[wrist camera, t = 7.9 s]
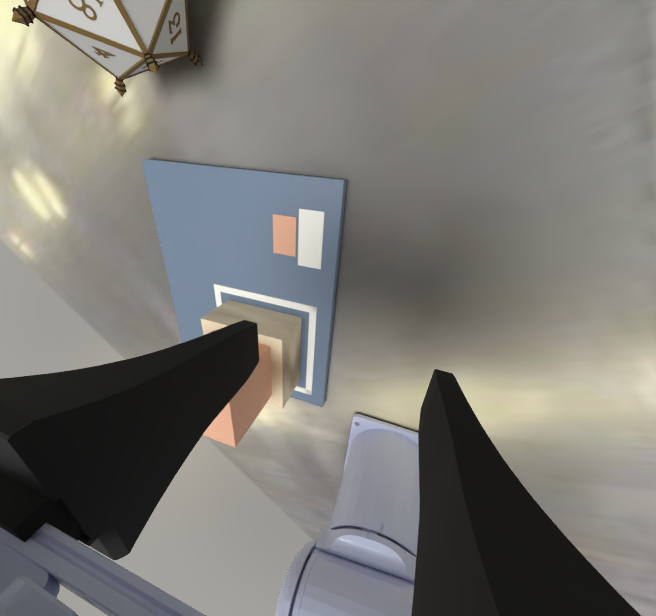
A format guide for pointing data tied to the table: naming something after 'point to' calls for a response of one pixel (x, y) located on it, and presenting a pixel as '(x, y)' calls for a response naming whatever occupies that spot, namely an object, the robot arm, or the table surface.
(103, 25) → the game die
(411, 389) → the table surface
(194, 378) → the robot arm
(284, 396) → the beech block
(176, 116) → the table surface
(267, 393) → the terracotta cube
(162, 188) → the board
